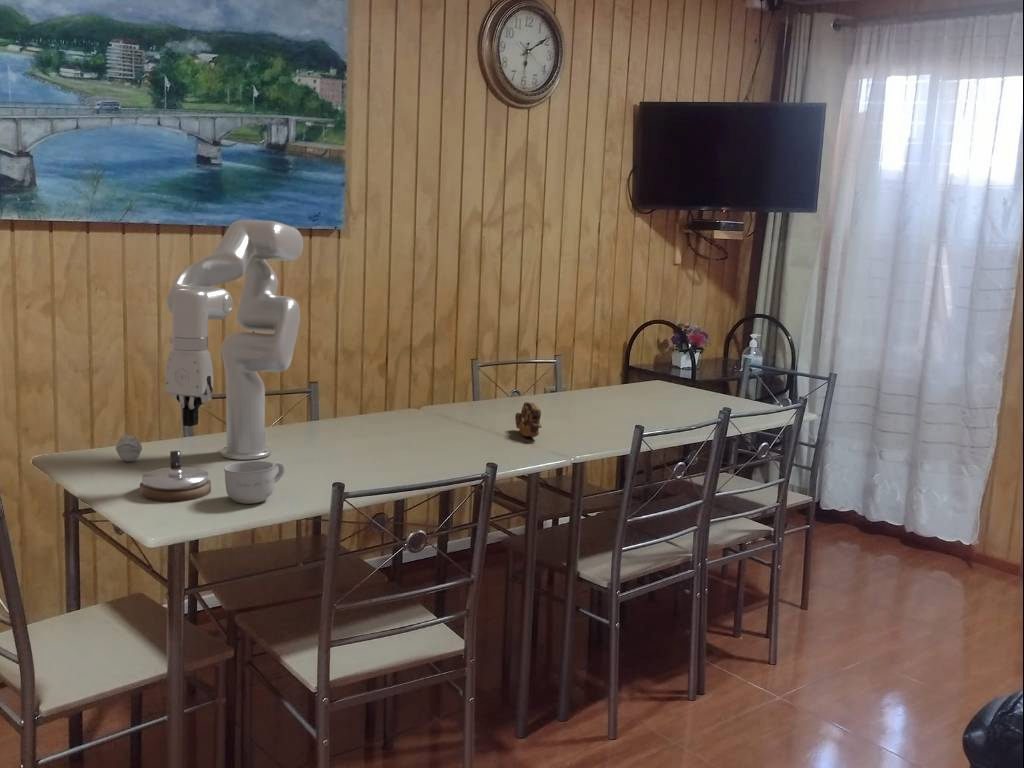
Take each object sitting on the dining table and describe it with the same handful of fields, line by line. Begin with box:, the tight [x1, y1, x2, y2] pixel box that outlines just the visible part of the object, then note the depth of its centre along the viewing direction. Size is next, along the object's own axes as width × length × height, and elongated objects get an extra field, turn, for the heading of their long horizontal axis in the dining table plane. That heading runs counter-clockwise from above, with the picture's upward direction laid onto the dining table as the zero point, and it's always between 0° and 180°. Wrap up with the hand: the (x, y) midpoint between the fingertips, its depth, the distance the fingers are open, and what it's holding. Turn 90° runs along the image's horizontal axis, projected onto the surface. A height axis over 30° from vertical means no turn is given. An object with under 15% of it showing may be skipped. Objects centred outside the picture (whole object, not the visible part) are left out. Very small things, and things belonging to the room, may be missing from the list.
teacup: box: [223, 460, 285, 505], centre depth 219 cm, size 14×11×8 cm
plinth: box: [139, 478, 212, 503], centre depth 222 cm, size 15×15×2 cm
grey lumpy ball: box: [115, 434, 143, 463], centre depth 244 cm, size 6×7×7 cm
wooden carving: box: [514, 401, 542, 438], centre depth 289 cm, size 16×5×10 cm, turn 23°
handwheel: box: [141, 450, 209, 491], centre depth 221 cm, size 14×14×6 cm
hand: (190, 425), depth 224 cm, fingers closed
